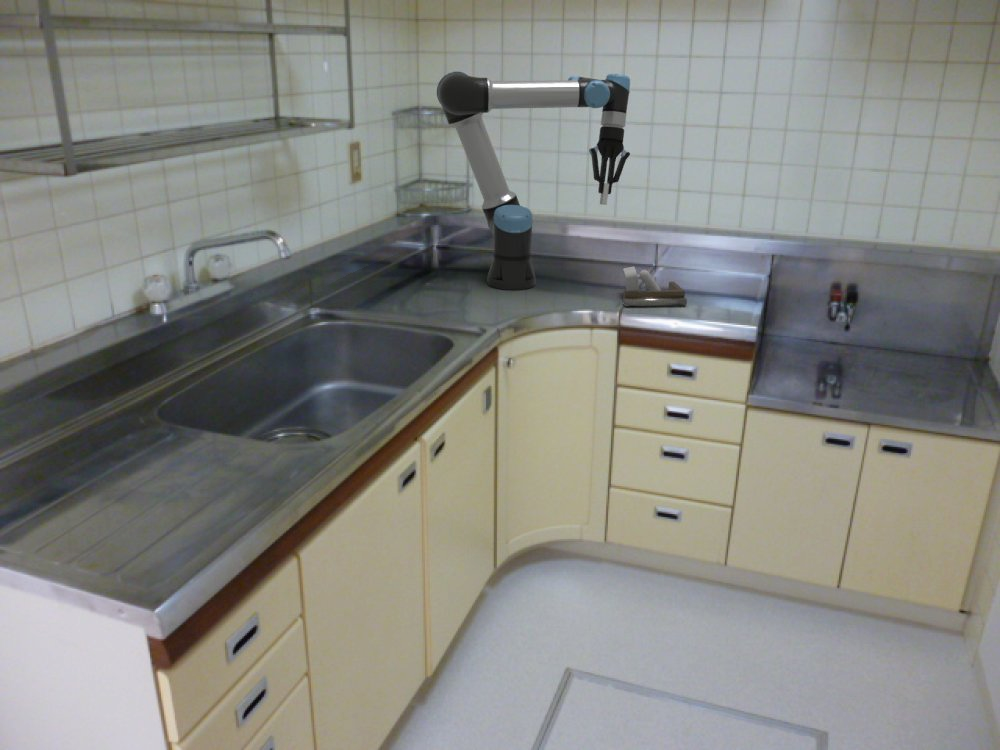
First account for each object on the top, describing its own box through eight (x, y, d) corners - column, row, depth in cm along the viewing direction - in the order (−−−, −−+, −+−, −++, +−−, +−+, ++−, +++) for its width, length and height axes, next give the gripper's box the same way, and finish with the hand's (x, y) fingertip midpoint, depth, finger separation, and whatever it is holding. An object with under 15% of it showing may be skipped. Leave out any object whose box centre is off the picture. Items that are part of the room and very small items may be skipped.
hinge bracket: (626, 307, 241) (627, 294, 239) (615, 294, 253) (616, 282, 251) (686, 307, 243) (687, 293, 241) (672, 294, 255) (673, 281, 253)
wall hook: (665, 299, 247) (660, 267, 244) (630, 306, 248) (624, 274, 245) (661, 292, 255) (656, 260, 251) (627, 298, 256) (622, 267, 252)
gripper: (628, 130, 263) (619, 206, 268) (589, 125, 261) (580, 202, 265) (636, 128, 256) (626, 206, 260) (595, 123, 254) (586, 202, 258)
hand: (603, 204), depth 263 cm, fingers closed
